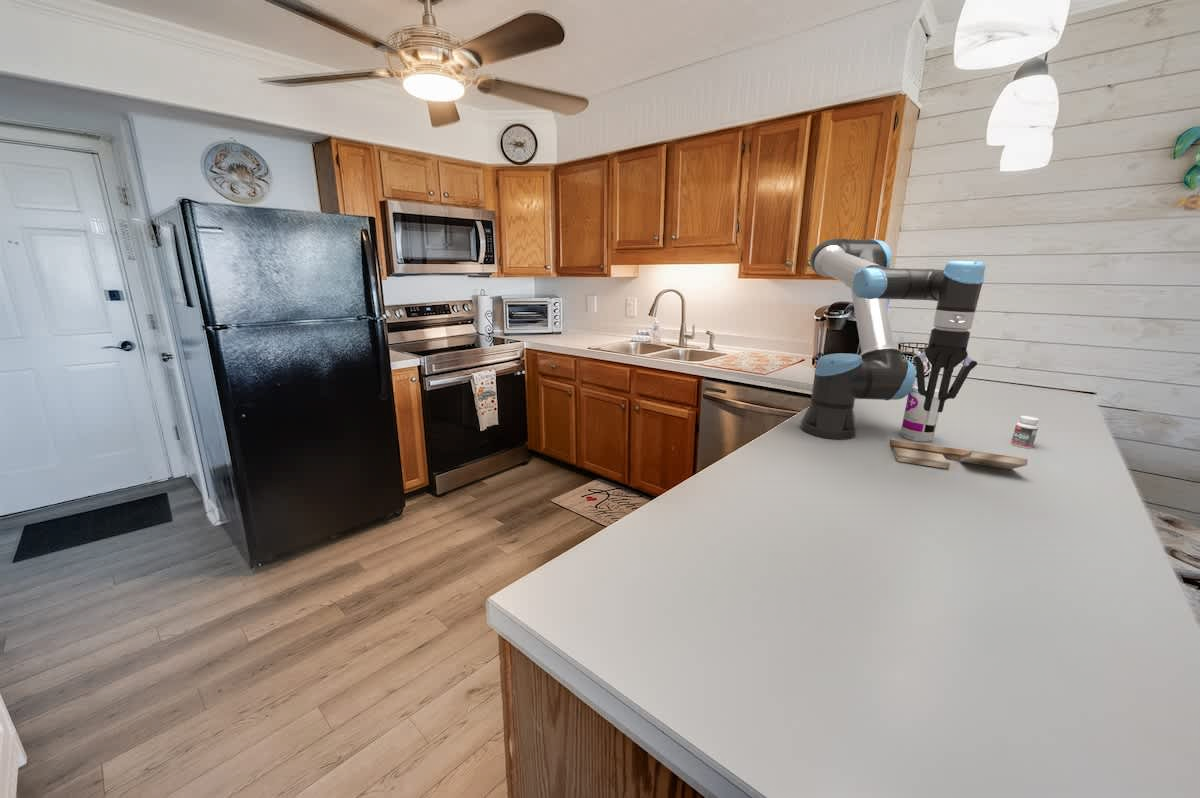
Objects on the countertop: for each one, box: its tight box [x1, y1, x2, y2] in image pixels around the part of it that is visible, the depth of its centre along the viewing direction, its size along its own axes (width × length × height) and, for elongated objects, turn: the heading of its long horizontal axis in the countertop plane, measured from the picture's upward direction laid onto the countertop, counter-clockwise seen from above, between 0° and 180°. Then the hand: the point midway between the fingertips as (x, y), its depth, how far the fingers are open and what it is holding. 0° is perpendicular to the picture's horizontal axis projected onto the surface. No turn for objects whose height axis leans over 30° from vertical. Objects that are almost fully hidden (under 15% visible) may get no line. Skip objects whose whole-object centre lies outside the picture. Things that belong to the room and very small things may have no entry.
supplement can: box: [900, 385, 940, 443], centre depth 139 cm, size 8×8×15 cm
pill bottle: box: [1010, 415, 1040, 449], centre depth 136 cm, size 5×5×8 cm
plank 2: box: [959, 450, 1029, 470], centre depth 118 cm, size 11×8×2 cm
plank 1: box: [892, 447, 951, 470], centre depth 124 cm, size 11×8×2 cm
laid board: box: [889, 439, 1005, 462], centre depth 128 cm, size 26×6×2 cm, turn 66°
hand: (929, 423), depth 119 cm, fingers closed
